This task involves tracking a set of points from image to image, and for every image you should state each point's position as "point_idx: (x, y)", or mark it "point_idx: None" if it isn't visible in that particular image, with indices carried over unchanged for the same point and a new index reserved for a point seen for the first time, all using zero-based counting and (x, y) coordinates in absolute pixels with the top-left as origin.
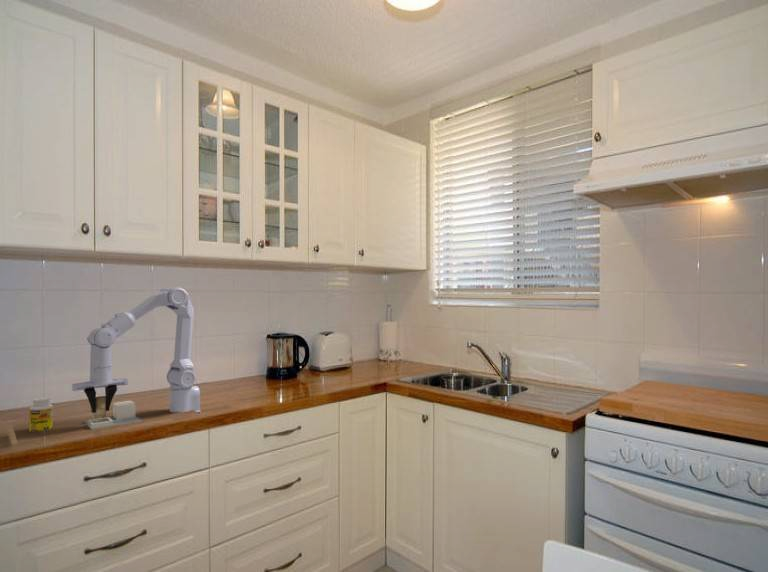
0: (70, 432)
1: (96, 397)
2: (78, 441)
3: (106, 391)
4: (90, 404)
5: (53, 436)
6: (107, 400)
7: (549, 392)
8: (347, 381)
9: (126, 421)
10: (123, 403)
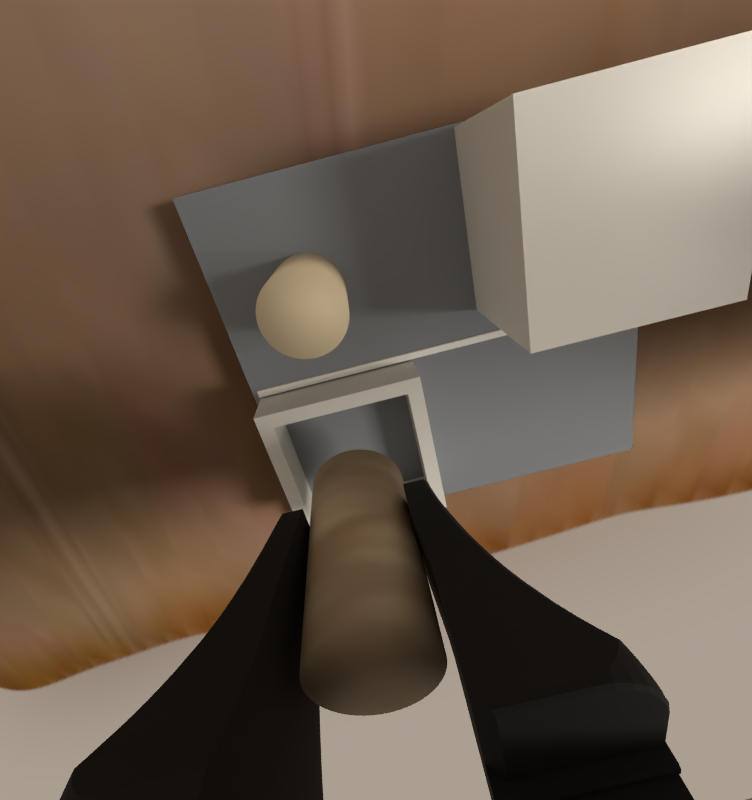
0: (158, 421)
1: (320, 673)
2: None
3: (471, 716)
4: (254, 578)
5: (72, 475)
6: (448, 635)
7: None
8: None
9: (535, 411)
10: (629, 232)
